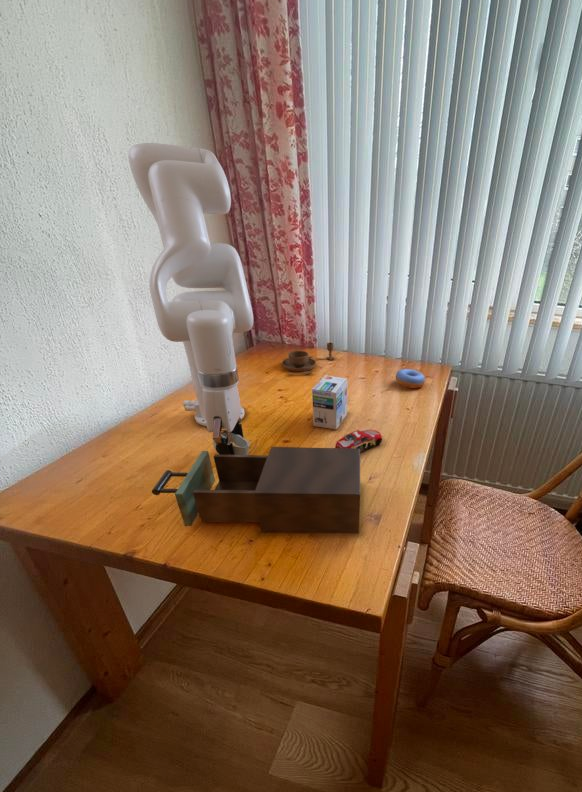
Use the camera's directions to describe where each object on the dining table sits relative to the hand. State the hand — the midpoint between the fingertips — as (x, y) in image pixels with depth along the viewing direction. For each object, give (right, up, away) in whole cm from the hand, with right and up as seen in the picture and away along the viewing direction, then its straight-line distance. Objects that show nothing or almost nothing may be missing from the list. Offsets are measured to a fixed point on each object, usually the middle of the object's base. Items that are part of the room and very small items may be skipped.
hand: (232, 447), depth 88 cm
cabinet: (+21, -12, -12) cm, 27 cm away
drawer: (+4, -11, -14) cm, 18 cm away
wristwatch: (0, -1, +1) cm, 1 cm away
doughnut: (+44, +23, +43) cm, 65 cm away
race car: (+29, 0, +8) cm, 30 cm away
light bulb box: (+20, +8, +19) cm, 29 cm away
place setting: (+8, +32, +52) cm, 61 cm away
